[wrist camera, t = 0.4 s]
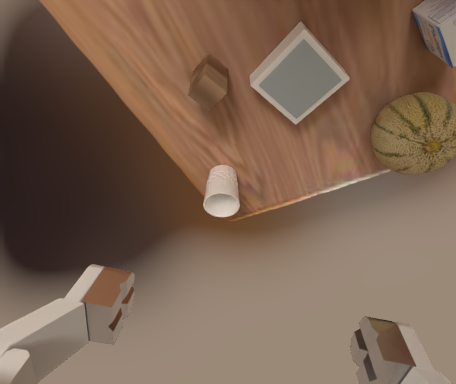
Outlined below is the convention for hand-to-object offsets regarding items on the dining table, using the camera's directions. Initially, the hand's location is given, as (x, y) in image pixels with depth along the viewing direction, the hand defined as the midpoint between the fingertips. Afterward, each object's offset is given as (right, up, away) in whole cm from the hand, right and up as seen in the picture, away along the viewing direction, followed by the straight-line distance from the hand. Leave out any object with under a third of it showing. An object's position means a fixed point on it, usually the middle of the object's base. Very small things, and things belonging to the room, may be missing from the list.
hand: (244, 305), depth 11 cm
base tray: (+12, +26, +44) cm, 53 cm away
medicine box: (+33, +32, +38) cm, 59 cm away
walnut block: (-4, +26, +44) cm, 51 cm away
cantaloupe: (+34, +20, +50) cm, 63 cm away
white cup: (-2, +8, +62) cm, 63 cm away
